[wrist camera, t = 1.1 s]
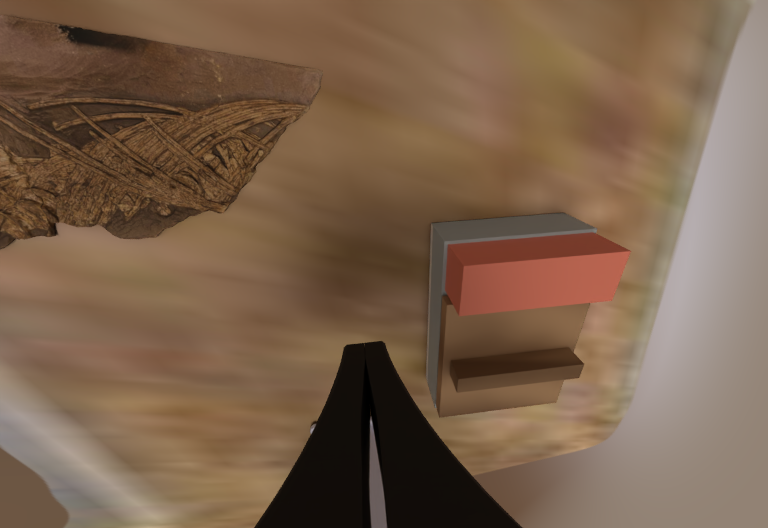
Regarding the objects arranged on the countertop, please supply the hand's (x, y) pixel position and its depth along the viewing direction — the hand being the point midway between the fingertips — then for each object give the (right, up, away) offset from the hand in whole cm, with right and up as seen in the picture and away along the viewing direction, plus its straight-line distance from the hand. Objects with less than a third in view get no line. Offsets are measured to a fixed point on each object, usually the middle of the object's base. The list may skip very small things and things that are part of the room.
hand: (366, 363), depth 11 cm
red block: (+9, +4, +7) cm, 12 cm away
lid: (+9, -2, +10) cm, 14 cm away
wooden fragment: (-15, +10, +5) cm, 19 cm away
